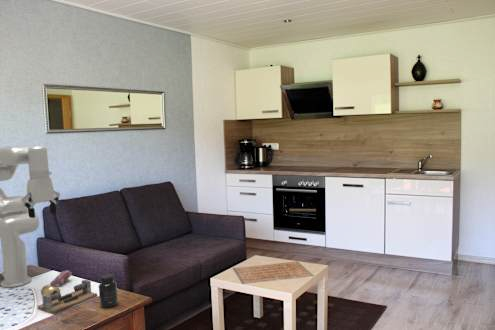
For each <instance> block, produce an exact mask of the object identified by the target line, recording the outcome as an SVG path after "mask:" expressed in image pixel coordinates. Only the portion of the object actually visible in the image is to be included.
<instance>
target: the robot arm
mask: <svg viewBox="0 0 495 330" xmlns="http://www.w3.org/2000/svg"><path fill="white" fill-rule="evenodd" d="M48 158H49V157H48V148H47V147H46V146H45V145H38V146H36V145H25V146H23V145H22V146H0V182H4V181H9V180H11V179H12V178H13V177H14V174H15V173H16V170H17V169H18V167H19V165H26V164H28V172H29V173H28V175H29V179H28V180H27V183H26V195H25V196H22V195H13V196H7V195H6V194H5V191H4V190H3V189H2V188H1V187H0V244H1V254H2V268H3V273H2V275H1V276H2V277H3V278H4V279H3V280H2V281H1V282H0V286H1V287H2V288H17V287H20V286H21V287H22V286H25V285H27V284H29V283H30V282H32V277H31V276H29V275H28V268H27V267H28V266H27V264H28V263H27V256H26V255H27V254H26V252H27V251H26V243H25V241H23V239H22V238H21V237H20V236H21V235H26V234H31V233H34V232H36V231H37V230H38V229H39V228H40V220H39V217H38V215H37V214H36V211H35V207H34V206H35V205H36V204H38V203H39V204H40V203H45V202H48V203H50V204H49V212H50V214H56V213H57V206H56V205H57V203H58V201H59V199H60V196H61V192H59V191H56V190H54V184H53V181H52V178H51V177H50V175H52V171H50V170H49V159H48Z"/></svg>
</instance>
